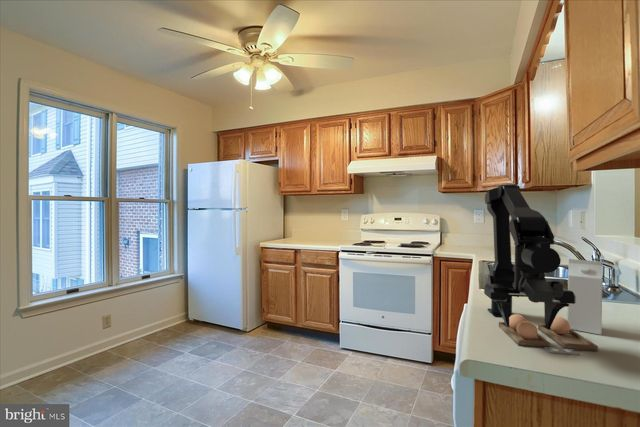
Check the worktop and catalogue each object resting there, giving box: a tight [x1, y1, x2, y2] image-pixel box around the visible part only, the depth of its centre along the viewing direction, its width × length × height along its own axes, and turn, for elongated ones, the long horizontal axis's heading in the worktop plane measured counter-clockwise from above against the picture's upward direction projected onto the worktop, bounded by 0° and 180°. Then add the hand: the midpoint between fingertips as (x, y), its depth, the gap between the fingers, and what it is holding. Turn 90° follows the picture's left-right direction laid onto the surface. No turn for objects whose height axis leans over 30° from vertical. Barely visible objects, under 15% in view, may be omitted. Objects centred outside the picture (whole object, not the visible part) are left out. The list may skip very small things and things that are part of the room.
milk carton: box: [566, 258, 603, 335], centre depth 89 cm, size 7×7×19 cm
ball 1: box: [509, 313, 527, 331], centre depth 86 cm, size 4×4×4 cm
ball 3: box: [550, 316, 570, 334], centre depth 84 cm, size 4×4×4 cm
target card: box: [543, 346, 580, 356], centre depth 74 cm, size 2×6×1 cm, turn 80°
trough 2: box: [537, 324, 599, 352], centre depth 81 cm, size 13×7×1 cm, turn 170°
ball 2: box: [517, 321, 539, 340], centre depth 80 cm, size 4×4×4 cm
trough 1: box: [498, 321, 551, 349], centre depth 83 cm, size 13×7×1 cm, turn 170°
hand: (527, 327), depth 80 cm, fingers open, 9 cm apart
